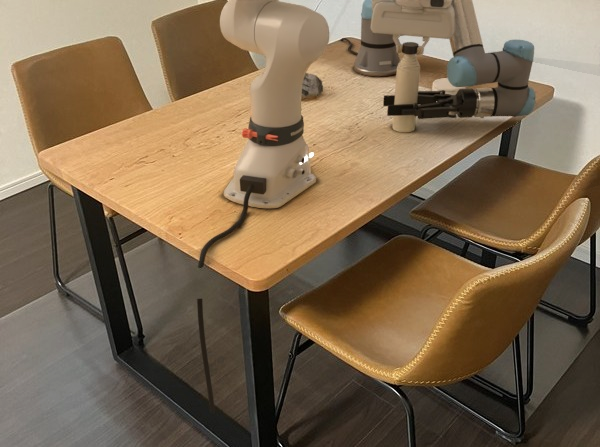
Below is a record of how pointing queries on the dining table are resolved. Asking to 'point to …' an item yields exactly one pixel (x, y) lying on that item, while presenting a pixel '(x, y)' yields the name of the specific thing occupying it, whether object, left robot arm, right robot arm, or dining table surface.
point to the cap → (410, 48)
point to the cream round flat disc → (445, 86)
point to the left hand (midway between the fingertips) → (409, 53)
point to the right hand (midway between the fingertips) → (385, 105)
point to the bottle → (406, 91)
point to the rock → (311, 86)
